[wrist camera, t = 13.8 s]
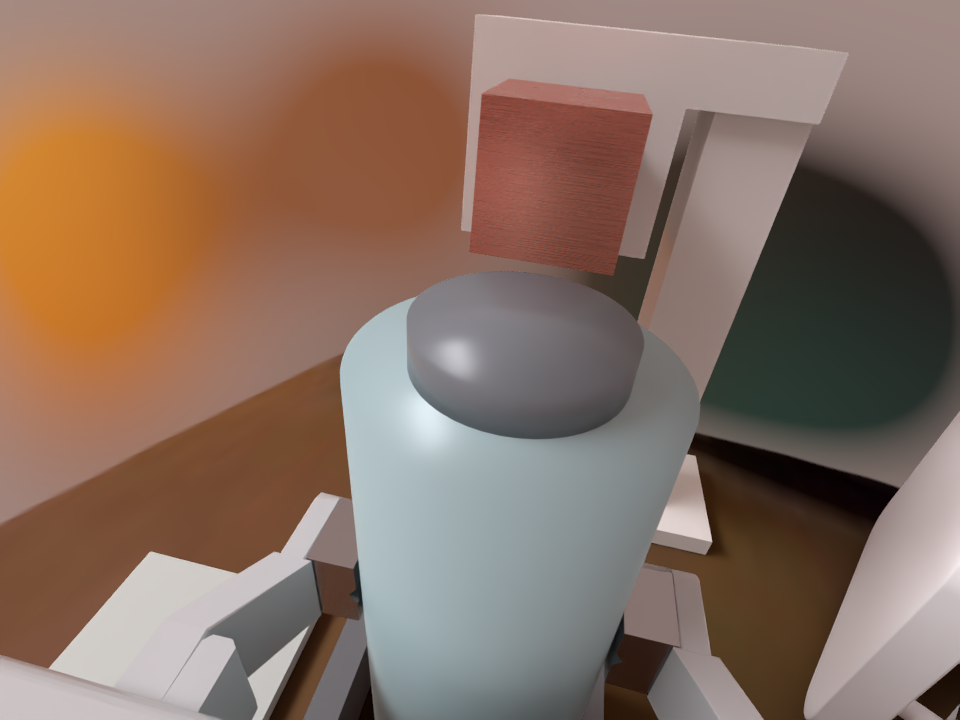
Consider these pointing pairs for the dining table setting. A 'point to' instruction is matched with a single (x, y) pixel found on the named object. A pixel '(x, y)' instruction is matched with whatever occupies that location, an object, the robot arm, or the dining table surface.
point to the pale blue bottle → (505, 490)
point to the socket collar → (350, 680)
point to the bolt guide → (703, 180)
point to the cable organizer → (899, 603)
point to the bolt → (556, 173)
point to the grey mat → (141, 611)
